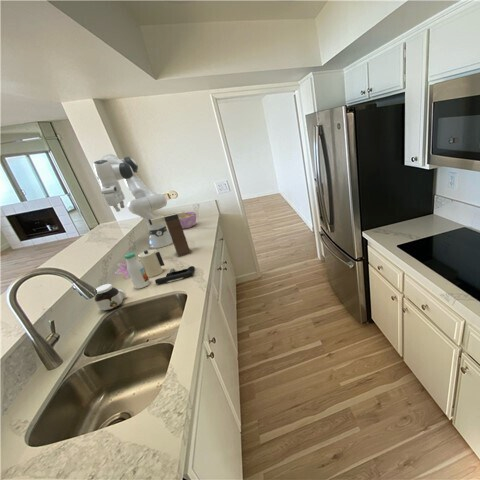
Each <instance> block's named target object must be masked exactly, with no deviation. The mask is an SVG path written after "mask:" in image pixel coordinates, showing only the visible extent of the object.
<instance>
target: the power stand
mask: <svg viewBox="0 0 480 480" xmlns="http://www.w3.org/2000/svg"><path fill="white" fill-rule="evenodd" d="M175 213H176V212H174V213H169V214H168V215H171V214H175ZM166 215H167V214H164V216H166ZM164 218H165V221H164V223H165V226H166V228H167V231H169V233H170V236H171V239H172V241H173V243H172V244H173V247H174V249H175V252H176V255H177V257H178V258H181V257H183V256H187V255H190V254H191V250H190V247H189V244H188V240H187V238H186V234H185V232H184V228H182V226H181V223H180V220H179V218H178V215H177V214H176V215H171V216H167V217H164Z"/></svg>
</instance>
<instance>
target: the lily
mask: <svg viewBox="0 0 480 480" xmlns="http://www.w3.org/2000/svg"><path fill="white" fill-rule="evenodd" d="M117 266H118V267H119V269H116V271H115V272H114V275H123V274H124V277H125V279H128V278H130V276H129V273H128V271H127V260H126V259H125V262H124V263H121V262H117Z"/></svg>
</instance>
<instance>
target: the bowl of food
mask: <svg viewBox="0 0 480 480" xmlns="http://www.w3.org/2000/svg"><path fill="white" fill-rule="evenodd" d="M185 214H186V216H183V217H179V220H180V223H181V226H182V229H183V230H184V229H190V228H193V226H194V225H196V223H197V212H195V211H187V212H185Z"/></svg>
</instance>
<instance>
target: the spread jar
mask: <svg viewBox="0 0 480 480" xmlns="http://www.w3.org/2000/svg"><path fill="white" fill-rule="evenodd" d="M95 289H96V290H97V295H96V294H95V295H96V296H95V295H94V302H95V304H96V306H97V308H98V309H99V310H100V311H102V312H110V311H114V310H116V309H118V308H119V307H120V306H121V305H122V303H123V299H125V298H126V296H127V291H126V290H124V289H120V288H117V287H115V286H113V285H112V284H111V283H106V284H102V285H99V286H97V287H96V288H95Z"/></svg>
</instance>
